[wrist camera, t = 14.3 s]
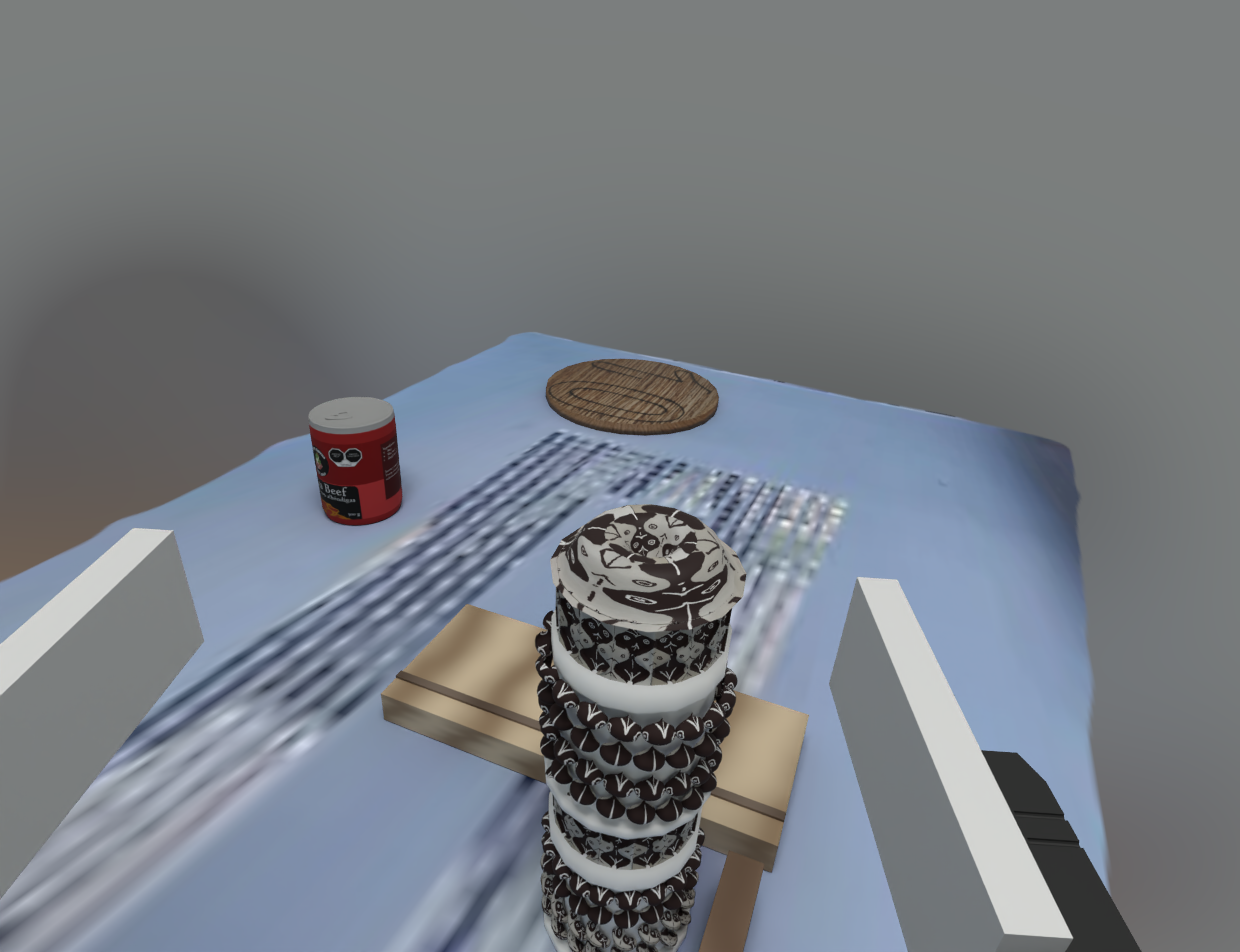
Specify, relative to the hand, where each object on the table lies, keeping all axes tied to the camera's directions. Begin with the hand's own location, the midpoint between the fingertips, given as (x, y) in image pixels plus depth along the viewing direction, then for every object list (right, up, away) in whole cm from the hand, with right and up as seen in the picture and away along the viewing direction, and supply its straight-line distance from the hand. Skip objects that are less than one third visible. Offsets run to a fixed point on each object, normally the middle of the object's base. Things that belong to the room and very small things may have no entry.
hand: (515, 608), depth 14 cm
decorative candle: (+2, -22, +28) cm, 35 cm away
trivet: (+4, +14, +93) cm, 94 cm away
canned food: (-25, -1, +63) cm, 67 cm away
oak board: (0, -16, +38) cm, 41 cm away
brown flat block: (+8, -23, +25) cm, 35 cm away
